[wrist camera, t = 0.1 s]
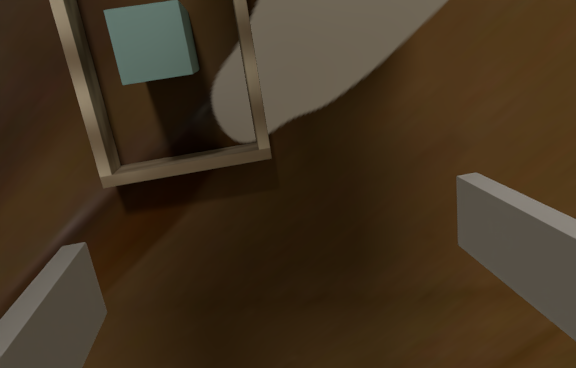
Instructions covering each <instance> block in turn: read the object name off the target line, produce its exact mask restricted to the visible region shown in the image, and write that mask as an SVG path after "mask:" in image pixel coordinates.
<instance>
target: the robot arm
mask: <svg viewBox="0 0 576 368" xmlns="http://www.w3.org/2000/svg"><path fill="white" fill-rule="evenodd" d="M457 219H458V245H459V246H460V247H461V248H463V249H464V250H465V251H466V252H467V253H469V254H470V255H471V256H472V257H474V258H475V259H476V260H477V261H478V262H480V263H481V264H482V265H483V266H485V267H486V268H487V269H488V270H489V271H491V272H492V273H493V274H494V275H496V276H497V277H498V278H499V279H500V280H502V281H503V282H504V283H505V284H507V285H508V286H509V287H510V288H511V289H513V290H514V291H515V292H516V293H518V294H519V295H520V296H521V297H522V298H524V299H525V300H526V301H527V302H529V303H530V304H531V305H532V306H533V307H535V308H536V309H537V310H538V311H540V312H541V313H542V314H543V315H544V316H546V317H547V318H548V319H549V320H551V321H552V322H553V323H554V324H555V325H557V326H558V327H559V328H560V329H562V330H563V331H564V332H565V333H566V334H568V335H569V336H570V337H571V338H573V339H574V340H575V341H576V219H575V218H572V217H570V216H568V215H566V214H563V213H561V212H559V211H557V210H555V209H553V208H551V207H549V206H546V205H544V204H542V203H540V202H538V201H536V200H534V199H532V198H529V197H527V196H525V195H523V194H521V193H519V192H517V191H515V190H512V189H510V188H508V187H506V186H504V185H502V184H500V183H498V182H495V181H493V180H491V179H489V178H487V177H485V176H483V175H481V174H479V173H471V174H465V175H460V176H457ZM106 314H107V311H106V307H105V304H104V301H103V297H102V294H101V291H100V287H99V284H98V281H97V278H96V274H95V271H94V268H93V264H92V261H91V258H90V254H89V251H88V248H87V245H86V242H83V243H78V244H72V245H67V246H62V247H61V248H60V250H59V251H58V252H57V253H56V254H55V255H54V257H53V258H52V259H51V260H50V261H49V263H48V264H47V265H46V266H45V267H44V268H43V270H42V271H41V272H40V273H39V274H38V276H37V277H36V278H35V279H34V280H33V281H32V283H31V284H30V285H29V286H28V287H27V289H26V290H25V291H24V292H23V293H22V295H21V296H20V297H19V298H18V299H17V300H16V302H15V303H14V304H13V305H12V306H11V308H10V309H9V310H8V311H7V312H6V313H5V315H4V316H3V317H2V318H1V319H0V368H82V367H83V364H84V362H85V360H86V358H87V356H88V353H89V351H90V349H91V347H92V345H93V342H94V340H95V338H96V336H97V334H98V331H99V329H100V327H101V325H102V323H103V321H104V318H105V316H106Z"/></svg>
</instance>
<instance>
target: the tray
mask: <svg viewBox="0 0 576 368" xmlns="http://www.w3.org/2000/svg"><path fill="white" fill-rule="evenodd" d="M49 1H50V4H51V8H52V11H53V15H54V18H55V22H56V25H57V29H58V32H59V36H60V39H61V43H62V46H63V50H64V53H65V57H66V60H67V64H68V67H69V71H70V74H71V78H72V81H73V85H74V88H75V92H76V95H77V99H78V102H79V106H80V109H81V112H82V116H83V119H84V123H85V126H86V130H87V133H88V137H89V140H90V144H91V147H92V151H93V154H94V158H95V161H96V165H97V168H98V172H99V175H100V179H101V182H102V186H103V188H107V187H112V186H118V185H124V184H130V183H135V182H141V181H147V180H152V179H158V178H164V177H169V176H175V175H181V174H187V173H192V172H198V171H204V170H209V169H215V168H221V167H226V166H232V165H238V164H244V163H249V162H255V161H261V160H266V159H272V156H271V150H270V144H269V138H268V132H267V126H266V119H265V113H264V107H263V101H262V95H261V89H260V82H259V76H258V70H257V64H256V57H255V51H254V45H253V39H252V33H251V26H250V20H249V14H248V8H247V2H246V0H232V2H233V7H234V13H235V19H236V25H237V31H238V37H239V43H240V48H241V54H242V59H243V66H244V72H245V78H246V84H247V90H248V95H249V101H250V107H251V113H252V118H253V125H254V131H255V137H256V142H255V143H250V144H244V145H238V146H232V147H226V148H220V149H215V150H209V151H203V152H197V153H191V154H185V155H180V156H174V157H168V158H162V159H156V160H151V161H145V162H139V163H133V164H127V165H121V164H120V161H119V157H118V153H117V150H116V146H115V142H114V138H113V135H112V131H111V127H110V124H109V120H108V116H107V112H106V109H105V105H104V101H103V98H102V94H101V90H100V86H99V83H98V79H97V75H96V72H95V68H94V64H93V60H92V57H91V53H90V49H89V46H88V42H87V38H86V35H85V31H84V27H83V23H82V20H81V16H80V12H79V9H78V5H77V1H76V0H49Z"/></svg>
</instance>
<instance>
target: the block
mask: <svg viewBox="0 0 576 368" xmlns="http://www.w3.org/2000/svg"><path fill="white" fill-rule="evenodd" d="M104 14H105V18H106V22H107V26H108V30H109V34H110V38H111V42H112V46H113V50H114V54H115V58H116V61H117V65H118V69H119V73H120V77H121V81H122V85H126V84H133V83H139V82H145V81H152V80H158V79H165V78H171V77H178V76H184V75H190V74H194V73H195V72H197V71H199V70H200V69H199V64H198V59H197V54H196V49H195V44H194V39H193V34H192V29H191V24H190V19H189V14H188V11H187V10H186V9H185V8H184V7H183V5H182V4H181V3H180V2H179V1H178V0H173V1H166V2H159V3H151V4H144V5H137V6H130V7H123V8H116V9H109V10H104Z"/></svg>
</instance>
